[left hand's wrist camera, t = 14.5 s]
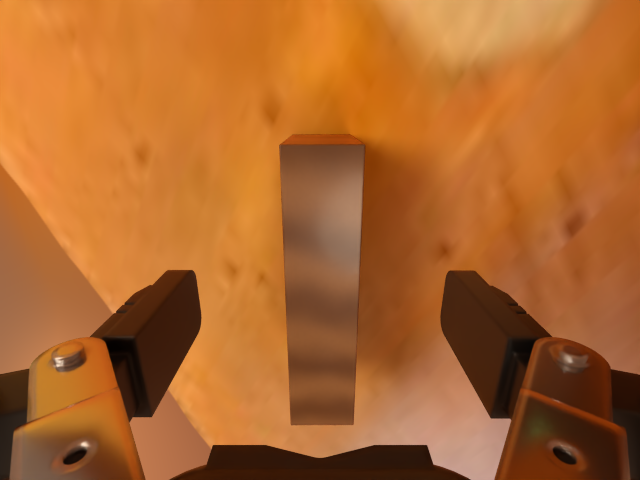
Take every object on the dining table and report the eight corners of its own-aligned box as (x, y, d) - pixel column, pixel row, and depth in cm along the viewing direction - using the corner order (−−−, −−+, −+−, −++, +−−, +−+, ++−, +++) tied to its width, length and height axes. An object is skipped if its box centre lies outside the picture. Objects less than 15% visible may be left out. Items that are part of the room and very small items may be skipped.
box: (292, 134, 35) (279, 144, 24) (350, 134, 35) (365, 144, 24) (298, 344, 44) (290, 425, 32) (344, 344, 44) (353, 425, 32)
